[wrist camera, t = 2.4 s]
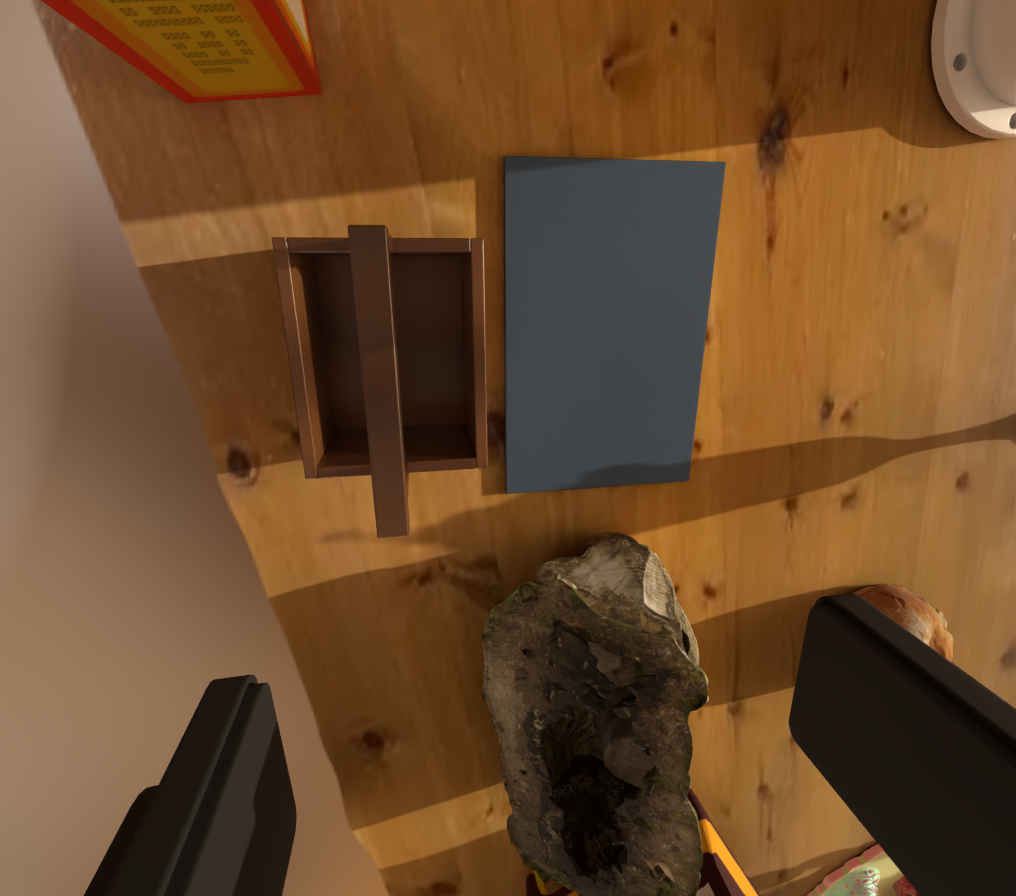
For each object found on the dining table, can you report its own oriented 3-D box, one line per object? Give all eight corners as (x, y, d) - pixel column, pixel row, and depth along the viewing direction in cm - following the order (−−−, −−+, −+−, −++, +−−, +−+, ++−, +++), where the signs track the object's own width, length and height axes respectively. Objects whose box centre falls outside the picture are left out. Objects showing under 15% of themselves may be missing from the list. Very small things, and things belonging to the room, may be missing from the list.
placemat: (503, 157, 29) (504, 155, 28) (722, 163, 31) (726, 162, 30) (505, 491, 35) (506, 494, 35) (686, 479, 37) (688, 481, 37)
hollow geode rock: (562, 752, 50) (723, 857, 42) (476, 868, 41) (663, 1034, 32) (585, 486, 40) (802, 553, 32) (479, 556, 31) (750, 677, 22)
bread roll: (815, 556, 46) (843, 608, 39) (951, 580, 43) (1009, 640, 36) (789, 650, 49) (811, 714, 42) (915, 677, 47) (961, 750, 39)
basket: (304, 243, 29) (214, 223, 16) (469, 243, 30) (507, 225, 17) (328, 437, 32) (269, 547, 19) (474, 429, 34) (508, 528, 21)
